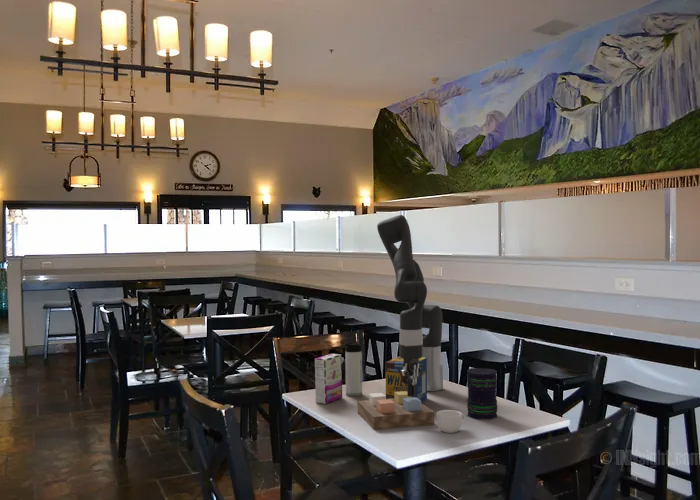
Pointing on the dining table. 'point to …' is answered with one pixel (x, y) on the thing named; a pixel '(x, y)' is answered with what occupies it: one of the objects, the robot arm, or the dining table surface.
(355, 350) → the travel mug
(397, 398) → the ochre key
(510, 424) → the dining table surface
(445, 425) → the teacup
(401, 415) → the brown flat wooden block
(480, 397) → the storage jar
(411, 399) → the light blue block
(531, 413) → the dining table surface
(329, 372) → the candy bar box
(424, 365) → the protein box
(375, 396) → the white block
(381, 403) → the terracotta key
